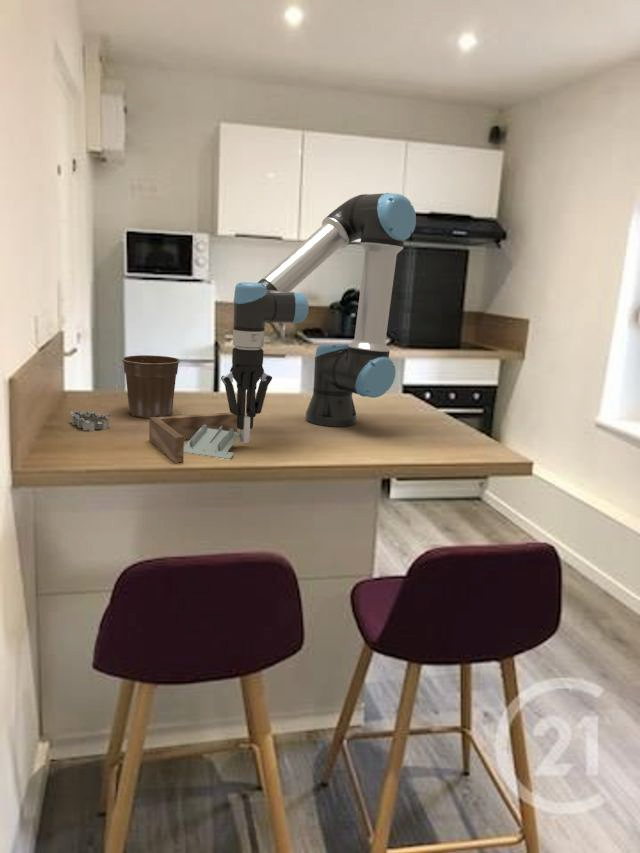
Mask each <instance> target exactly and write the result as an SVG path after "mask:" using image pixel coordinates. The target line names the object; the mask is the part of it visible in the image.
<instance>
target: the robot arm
mask: <svg viewBox="0 0 640 853" xmlns="http://www.w3.org/2000/svg"><path fill="white" fill-rule="evenodd" d="M416 225H417V217H416V210H415V208H414V206H413V205H412V202H411V201H410V199H409V198H408V197H406V196H405V195H403V194H400V193H393V192H385V193H371V194H370V193H369V194H367V193H365V194H359V195H356V196H354V197H350V198H349V199H347V201H345V202H343V203H342V204H340V205H339V206H338V207H337V208H335V209H334V210H333V211H331V212H330V213H329V214H328V215H327V216H326V217H325V218H323V219H322V222H321V226H320V227H319V228H318V229H316V231H314V232H313V233H312V234H311V235H310V236H309V237H308V238H307V239H306V240H304V241H303V242H302V243H301V244H300V245H299V246H297V247H296V248H295V249H294V250H292V251H291V252H290V254H288V255H287V256H286V257H285V258H284V259H283V260H281V261H280V262H279V263H278V264H277V265H276V266H275V267H273V268H272V269H271V270H270V271H269V272H268V273H267V274H265V275H264V277H262V278H261V279H260V280H259V281H258V282H245V281H240V282H238V283H237V284H235V287H234V288H235V289H234V297H233V327H232V345H233V346H234V347H233V348H232V353H231V354H232V355H231V356H232V357H231V367H230V370H229V373H227V374H226V375H222V376H221V377H220V380H221V382H222V383H223V385H224V387H225V389H224V390H225V394H226V398H227V402H228V408H229V413H232V414H234V415H237V430H239V433H241V435H240V436H239V438H238V439H239V441H240V442H242V443H243V444H247V443H248V444H249V443H250V434H251V430H252V429H253V428H254V418H255V417H256V416H257V414H258V415H259V414H261V412H262V410H263V406H264V403H265V398H266V394H267V390H268V387H269V385H270V383H271V382H272V380H273V377H272V376H271V375H269V374H267V373H266V372H265V369H264V367H263V364H264V350H263V347H264V346H265V327H266V323H267V324H270V323H276V324H278V323H280V324H284V323H286V324H294V323H295V324H296V323H302V322H303V321H305V320H306V318H307V317H308V314H309V301H308V298H307V297H306V295H305V294H304V293H301V292H295V291H293V290H294V289H295V288H296V287H297V286H298V285H300V284H301V283H302V282H303V281H304V280H305V279H306V278H308V276H310V275H311V274H312V273H313V272H314V271H315V270H316V269H318V267H320V266H321V265H322V264H323V263H324V262H325V261H326V260H328V259H329V258H330V257H331V256H332V255H333V254H334V253H336V251H338V250H339V249H341V248H347V247H348V245H350V244H351V243H352V242H356V241H358V240H360V241H359V242H360V243H359V244H360V247H362V249H363V250H364V257H363V264H362V265H363V266H362V273H361V281H360V288H359V289H360V290H359V297H358V298H359V300H358V306H357V307H358V308H357V314H356V323H355V332H354V339H353V340H352V341H351V342H350V343H336V344H335V343H333V344H332V343H330V344H328V343H327V344H325V343H324V344H319V345H318V346H317V347H316V350H315V356H314V370H313V371H314V372H313V376H314V377H313V393H312V396H311V399H310V402H309V404H308V405H307V406H308V407H307V409H306V412H305V420H306V421H307V422H308V423H311V424H314V425H318V426H319V425H320V426H324V427H325V426H326V427H348V426H353V425H355V424H356V422H357V413H356V412H357V411H356V407H355V404H354V400H353V399H354V398H353V394H356V395H359V396H361V397H367V398H371V399H372V398H379V397H381V396H383V395H385V394H386V393H387V391H389V390H390V389H391V387H392V386H393V384H394V382H395V378H396V375H397V374H396V370H397V369H396V366H395V365H394V362H393V361H392V360H391V359H390V353H391V352H390V351H391V350H390V348H389V347H388V345H387V343H386V342H387V341H386V340H387V331H388V325H389V324H388V323H389V316H390V308H391V301H392V293H393V288H394V287H393V286H394V285H393V284H394V277H395V273H396V272H395V270H396V263H397V256H398V254H399V253H400V252H401V251H403V249H404V246H405V245H404V244H405V241H406V240H407V239H409V238H410V237H411V234H413V233H414V231H415V229H416ZM234 381H235V382H236V389H237V391H236V393H237V394H236V393H235V388H234V385H233V383H234ZM258 382H259V383H258ZM257 384H258V388H257ZM256 390H257V392H256Z"/></svg>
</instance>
